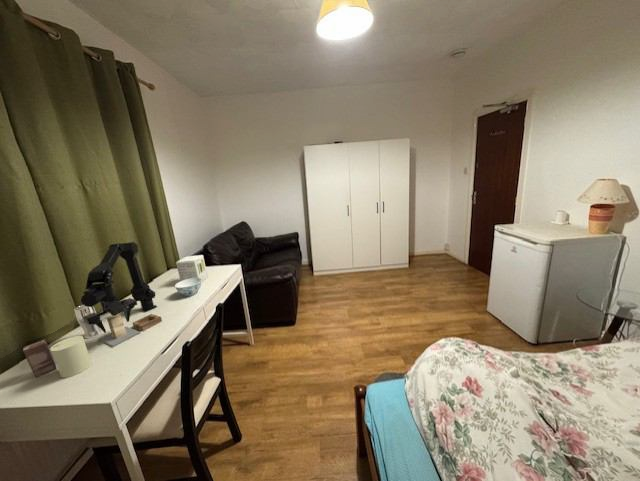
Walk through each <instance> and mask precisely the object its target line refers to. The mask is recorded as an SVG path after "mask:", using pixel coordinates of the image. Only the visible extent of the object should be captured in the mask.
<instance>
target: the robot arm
mask: <svg viewBox="0 0 640 481" xmlns="http://www.w3.org/2000/svg"><path fill="white" fill-rule="evenodd" d="M138 254H139V246H138V244H137V243H136V242H134V241H129V242H117V243H111V244H110V245H109V246H108V249H107V252H106V253H105V255H104V256H103V258H102V260H101V261H100V263H98V265H96V266H95V267H93V268H92V269H91V270H90V271H89V272H88V274H87V278H86V284H85V291H83V295H82V296H81V298H80V302H81V305H84V306H87V307H92V306H96V305H98V304H99V305H100V307H101V308H100V309H101V311H100V312H99V313H98V312H96V313H91V314H89V315H86V316H84V318H83V320H84V323H87V324H89V325H91V324H93V325H97V326H98V327H99V329H100V330H101V332H103V333H104V334H106V333H107V329H106V328H105V326H104V324H103V320H102V319H101V318H102V317H104V316H106V315H109V314H110V316H111V315H112V316H116V315H117V314H122V313H123V315H124V318H125V321H126V322H127V323H129V322H130V318H131V313H132V312H131V311H132V310H133V309H134V308H135V306H137V305H138V302H139V303H140V306H141V308H140V309H139V311H141V312H144V313H147V312H149V311H151V310H153V309H156V308H157V307H158V306H157V304H156V305H155V304H154V301H153V299H154V298H156V292H155V291H154V290H152V289H151V287H150V285H149V284H148V283H146V281H144V278H143V274H142V271H141V268H140V264H139V261H138V258H137V256H138ZM119 257H120V258H122V259H123V260H124V261H125V263H126V267H127V270H128V273H129V276H130V279H131V282H132V288H131V289H130V294H131V297H132V298H131V297H129V298H124V299H122V300H119V298H118V296H116V294H115V293H116V292H115V290H114V286H113V285H112V284H114V283H115V281H114V280H112V279H113V276H114V270H113V268H114V266H115V265H116V264H117V261H118V259H119Z"/></svg>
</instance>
